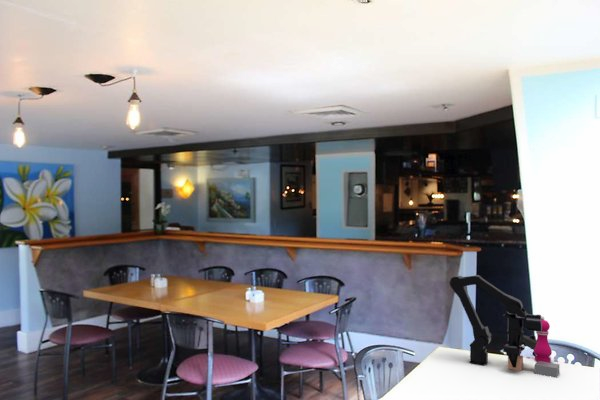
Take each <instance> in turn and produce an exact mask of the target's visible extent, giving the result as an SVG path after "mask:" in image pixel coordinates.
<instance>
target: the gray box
mask: <svg viewBox="0 0 600 400" xmlns="http://www.w3.org/2000/svg"><path fill="white" fill-rule="evenodd" d="M534 374H535V375H538V374H539V376H544V375H545V377H550V376H551V378H555V377H556V378H555V379H557V378H558V377H559V375H560V364H559V363H554V362H553V363H552V362H550V363H548V362H542V361H535V364H534ZM557 376H558V377H557Z"/></svg>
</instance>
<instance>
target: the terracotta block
mask: <svg viewBox="0 0 600 400" xmlns="http://www.w3.org/2000/svg"><path fill="white" fill-rule="evenodd" d="M507 364H508V365H507V369H509V370H514V371H519V372H521V371H523V368H524V356H523V355H520V356H519V355H518V358H517V364H516V368H515V367H513V366H512V364H511V362H510V359H509V357H508V356H507Z"/></svg>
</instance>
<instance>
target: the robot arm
mask: <svg viewBox="0 0 600 400" xmlns="http://www.w3.org/2000/svg"><path fill="white" fill-rule="evenodd" d="M449 285H450V286H449V287H450V288H451V289H452V291H453V292H454V293H455V295H456V297H458V299H459V301H460V303H461V305H462V307H463V310H464V312H465V314H466V316H467V318H468V321H469V323H470V326H471V327H472V335H473V338H474V339H473V341H472V342H471V343H470V344H469V348H470V349H469V351H470V355H469V356H470V359H469V364H475V365H480V366H485V365H486V364H487V363H489V356H488V355H489V352H487V350H488V349H487V348H486V347H487V346H488V345H489V344H490V342H491V341H492V333H491V332H490V330H489V327H488V325H487V326H484V325H483V324H482V322H481V319H480V318H479V316H478V312H477V311H476V309H475V307H474V304H473V302H472V300H471V298H470V295H469V291H468V286H474V285H475V286H477V287H478V288H480V289H481V290H483V292H486V293H487V294H489V295H490V296H491V297H493V298H494V299H496V300H497V301H498V302H499V303H500V304H501V305H502V306H503V307H504V308H505V309H506V310H507V311H506V312H505V314H503V315H502V318H506V319H507V330H506V334H507V341H506V344H505V345H503V348H502V350H503V353H506V355H507V358H508V357H509V359H510V362H511V364H512V366H513V367H515V368H516V364H517V358H518V355H519V356H521V354H522V352H523V351H524V350H525V349H526V347H527V348H529V349H531V350H532V351H534V349H535V347H536V345H537V343H538V341H537V338H536V336H535V335H534V334H531V335H530V336H528V335H525V331H524V330H523V328H525V329H526V331H531V332H536V331H539V332H542V322H541V316H542V314H530V313H528V312H527V310H526V309H525V308H524V306H523V302H522V301H521V300H520V299H518V298H516V297H514V296H512V295H510V294H507V293H506V292H504V291H502V290H501V289H499V288H497V287H496V286H494V285H493V284H492V283H491V282H489V281H487V280H486V279H484V278H483V277H482V276H481V275H479V274H475V275H469V276H462V275H455V276H453V277H451V278H450V280H449Z"/></svg>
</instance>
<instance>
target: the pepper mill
mask: <svg viewBox="0 0 600 400" xmlns="http://www.w3.org/2000/svg"><path fill="white" fill-rule="evenodd" d="M541 322H542V332H539V331H535V334H536V336H537V338H536V340H537V341H538V343H537V345H536V347H535V349H534V350H533V353H534V354H535V356H534V361H535V360H536V361H535V362H537V361H542V362H548V363H552V360H551V357H550V356H552V353H553V352H552V351H553V350H552V349H551V348H552V347H551V346H550V344H549V341H548V336H549V330H550V327H551V325H550V323H549V321H548V320H545V317H544V316H543V315H541Z"/></svg>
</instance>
